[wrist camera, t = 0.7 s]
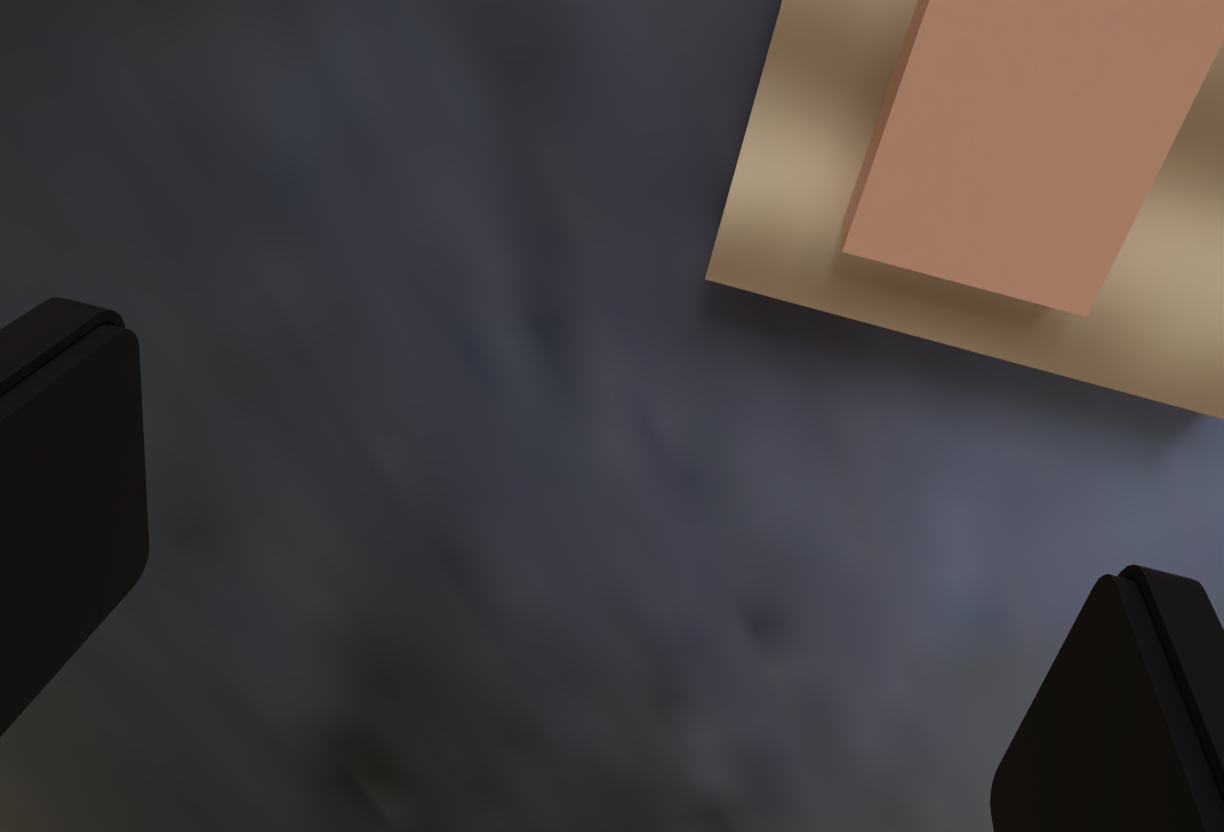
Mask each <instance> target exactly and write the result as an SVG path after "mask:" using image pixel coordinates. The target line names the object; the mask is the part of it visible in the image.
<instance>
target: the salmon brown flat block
mask: <svg viewBox="0 0 1224 832" xmlns="http://www.w3.org/2000/svg"><path fill="white" fill-rule="evenodd" d="M1223 41H1224V0H918V2H917V5H916V8H915V11H914V14H913V17H912V20H911V23H910V26H909V29H908V31H907V34H906V37H905V40H904V43H903V46H902V49H901V52H900V55H899V58H898V61H897V64H896V67H895V70H894V72H893V75H892V78H891V81H890V84H889V87H888V90H887V93H886V96H885V99H884V102H883V105H882V108H881V111H880V113H879V116H878V119H877V122H876V125H875V128H874V131H873V134H872V137H871V140H870V143H869V146H868V149H867V152H866V154H865V157H864V160H863V163H862V166H861V169H860V172H859V175H858V178H857V181H856V184H855V187H854V190H853V193H852V196H851V198H850V201H849V204H848V207H847V210H846V213H845V216H844V219H843V222H842V252H845V253H849V254H853V255H856V256H860V257H864V258H868V259H871V260H875V261H879V262H883V263H886V264H890V265H894V266H898V267H901V268H905V269H909V270H913V271H916V272H920V273H924V274H928V275H931V276H935V277H939V278H943V279H946V280H950V281H954V282H958V283H961V284H965V285H969V286H973V287H976V288H980V289H984V290H988V291H991V292H995V293H999V294H1003V295H1006V296H1010V297H1014V298H1018V299H1021V300H1025V301H1029V302H1033V303H1036V304H1040V305H1044V306H1048V307H1051V308H1055V309H1059V310H1063V311H1066V312H1070V313H1074V314H1078V315H1081V316H1085V317H1087V316H1088V314H1089V312H1090V310H1091V308H1092V306H1093V304H1094V302H1095V300H1096V298H1097V296H1098V294H1099V292H1100V290H1101V288H1102V286H1103V284H1104V282H1105V279H1106V277H1107V275H1108V273H1109V271H1110V269H1111V267H1112V265H1113V263H1114V261H1115V259H1116V257H1117V255H1118V253H1119V251H1120V249H1121V247H1122V245H1123V243H1124V241H1125V239H1126V237H1127V235H1128V233H1129V231H1130V229H1131V227H1132V225H1133V223H1134V221H1135V219H1136V217H1137V215H1138V213H1139V211H1140V209H1141V207H1142V205H1143V203H1144V201H1145V199H1146V197H1147V194H1148V192H1149V190H1150V188H1151V186H1152V184H1153V182H1154V180H1155V178H1156V176H1157V174H1158V172H1159V170H1160V168H1161V166H1162V164H1163V162H1164V160H1165V158H1166V156H1167V154H1168V152H1169V150H1170V148H1171V146H1172V144H1173V142H1174V140H1175V138H1176V136H1177V134H1178V132H1179V130H1180V128H1181V126H1182V124H1183V122H1184V120H1185V118H1186V116H1187V114H1188V111H1189V109H1190V107H1191V105H1192V103H1193V101H1194V99H1195V97H1196V95H1197V93H1198V91H1199V89H1200V87H1201V85H1202V83H1203V81H1204V79H1205V77H1206V75H1207V73H1208V71H1209V69H1210V67H1211V65H1212V63H1213V61H1214V59H1215V57H1216V55H1217V53H1218V51H1219V49H1220V47H1221V45H1222V43H1223Z"/></svg>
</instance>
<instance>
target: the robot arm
mask: <svg viewBox="0 0 1224 832" xmlns="http://www.w3.org/2000/svg"><path fill="white" fill-rule="evenodd" d="M148 554H149V535H148V515H147V495H146V475H145V455H144V435H143V414H142V394H141V374H140V354H139V343H138V339H137V337H136V335H135V333H134V332H132V331H131V330H128V329H125V325H124V322H123V320H122V318H121V316H120V315H119V314H118V313H117V312H115V311H113V310H109V309H105V308H101V307H97V306H93V305H89V304H85V303H81V302H77V301H73V300H69V299H65V298H59V297H54V298H51V299H49V300H46V301H44V302H43V303H41V304H40V305H38V306H37V307H35V308H34V309H32V310H30V311H29V312H27V313H26V314H24V315H23V316H21V317H19V318H18V319H16V320H15V321H13V322H12V323H10V324H8V325H7V326H5V327H4V328H2V329H1V330H0V737H1V735H2V734H3V733H4V732H5V731H6V730H7V729H8V728H9V726H10V725H11V724H12V723H13V722H14V721H15V720H16V719H17V717H18V716H19V715H20V714H21V713H22V712H23V711H24V710H25V708H26V707H27V706H28V705H29V704H30V703H31V702H32V701H33V699H34V698H35V697H36V696H37V695H38V694H39V693H40V691H41V690H42V689H43V688H44V687H45V686H46V685H47V684H48V682H49V681H50V680H51V679H52V678H53V677H54V676H55V675H56V673H57V672H58V671H59V670H60V669H61V668H62V667H63V666H64V664H65V663H66V662H67V661H68V660H69V659H70V658H71V657H72V655H73V654H74V653H75V652H76V651H77V650H78V649H79V647H80V646H81V645H82V644H83V643H84V642H85V641H86V640H87V638H88V637H89V636H90V635H91V634H92V633H93V632H94V631H95V629H96V628H97V627H98V626H99V625H100V624H101V623H102V622H103V620H104V619H105V618H106V617H107V616H108V615H109V614H110V613H111V611H112V610H113V609H114V608H115V607H116V606H117V605H118V603H119V602H120V601H121V600H122V599H123V598H124V597H125V596H126V594H127V593H128V592H129V591H130V590H131V589H132V588H133V587H134V585H135V584H136V583H137V581H138V580H139V579H140V577H141V575H142V573H143V571H144V568H145V565H146V563H147V558H148ZM990 807H991V816H992V822H993V828H994V832H1224V630H1223V628H1222V626H1221V624H1220V621H1219V619H1218V617H1217V615H1216V613H1215V611H1214V609H1213V607H1212V604H1211V602H1210V600H1209V598H1208V596H1207V594H1206V592H1205V590H1204V588H1203V587H1202V585H1201V584H1200V583H1199V582H1198V581H1196V580H1193V579H1190V578H1186V577H1182V576H1178V575H1174V574H1170V573H1166V572H1162V571H1158V570H1154V569H1150V568H1146V567H1142V566H1138V565H1130V566H1127V567H1126V568H1125V569H1123V570H1122V571H1121V572H1120V573H1119V575H1118V576H1114V575H1110V574H1106V575H1103V576H1102V577H1101V578H1099V579H1098V581H1097V582H1096V584H1095V585H1094V587H1093V589H1092V590H1091V592H1090V594H1089V596H1088V598H1087V600H1086V602H1085V604H1084V606H1083V607H1082V609H1081V611H1080V613H1079V615H1078V617H1077V619H1076V621H1075V623H1074V624H1073V626H1072V628H1071V630H1070V632H1069V634H1068V636H1067V638H1066V640H1065V641H1064V643H1063V645H1062V647H1061V649H1060V651H1059V653H1058V655H1057V657H1056V659H1055V660H1054V662H1053V664H1052V666H1051V668H1050V670H1049V672H1048V674H1047V676H1046V677H1045V679H1044V681H1043V683H1042V685H1041V687H1040V689H1039V691H1038V693H1037V694H1036V696H1035V698H1034V700H1033V702H1032V704H1031V706H1030V708H1029V710H1028V712H1027V713H1026V715H1025V717H1024V719H1023V721H1022V723H1021V725H1020V727H1019V729H1018V730H1017V732H1016V734H1015V736H1014V738H1013V740H1012V742H1011V744H1010V746H1009V747H1008V749H1007V751H1006V753H1005V755H1004V757H1003V759H1002V761H1001V763H1000V764H999V766H998V768H997V771H996V773H995V776H994V779H993V783H992V789H991V798H990Z"/></svg>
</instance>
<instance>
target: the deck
mask: <svg viewBox="0 0 1224 832" xmlns="http://www.w3.org/2000/svg"><path fill="white" fill-rule="evenodd" d="M917 2H918V0H782V3H781V7H780V10H779V14H778V17H777V21H776V25H775V28H774V32H773V35H772V39H771V43H770V46H769V50H768V53H767V57H766V61H765V64H764V68H763V71H762V75H761V79H760V82H759V86H758V89H757V93H756V97H755V100H754V104H753V107H752V111H751V115H750V118H749V122H748V125H747V129H746V133H745V136H744V140H743V143H742V147H741V151H740V154H739V158H738V161H737V165H736V169H735V172H734V176H733V179H732V183H731V187H730V190H729V194H728V197H727V201H726V205H725V208H724V212H723V215H722V219H721V223H720V226H719V230H718V234H717V237H716V241H715V245H714V248H713V252H712V255H711V259H710V263H709V266H708V270H707V274H706V277H705V279H706V280H709V281H713V282H717V283H720V284H724V285H728V286H732V287H735V288H739V289H743V290H746V291H750V292H754V293H757V294H761V295H765V296H769V297H772V298H776V299H780V300H783V301H787V302H791V303H795V304H798V305H802V306H806V307H809V308H813V309H817V310H821V311H824V312H828V313H832V314H835V315H839V316H843V317H846V318H850V319H854V320H858V321H861V322H865V323H869V324H872V325H876V326H880V327H884V328H887V329H891V330H895V331H898V332H902V333H906V334H910V335H913V336H917V337H921V338H924V339H928V340H932V341H935V342H939V343H943V344H947V345H950V346H954V347H958V348H961V349H965V350H969V351H973V352H976V353H980V354H984V355H987V356H991V357H995V358H999V359H1002V360H1006V361H1010V362H1013V363H1017V364H1021V365H1024V366H1028V367H1032V368H1036V369H1039V370H1043V371H1047V372H1050V373H1054V374H1058V375H1062V376H1065V377H1069V378H1073V379H1076V380H1080V381H1084V382H1088V383H1091V384H1095V385H1099V386H1102V387H1106V388H1110V389H1113V390H1117V391H1121V392H1125V393H1128V394H1132V395H1136V396H1139V397H1143V398H1147V399H1151V400H1154V401H1158V402H1162V403H1165V404H1169V405H1173V406H1177V407H1180V408H1184V409H1188V410H1191V411H1195V412H1199V413H1202V414H1206V415H1210V416H1214V417H1217V418H1221V419H1224V41H1223V43H1222V45H1221V47H1220V49H1219V51H1218V53H1217V55H1216V57H1215V59H1214V61H1213V63H1212V65H1211V67H1210V69H1209V71H1208V73H1207V75H1206V77H1205V79H1204V81H1203V83H1202V85H1201V87H1200V89H1199V91H1198V93H1197V95H1196V97H1195V99H1194V101H1193V103H1192V105H1191V107H1190V109H1189V111H1188V114H1187V116H1186V118H1185V120H1184V122H1183V124H1182V126H1181V128H1180V130H1179V132H1178V134H1177V136H1176V138H1175V140H1174V142H1173V144H1172V146H1171V148H1170V150H1169V152H1168V154H1167V156H1166V158H1165V160H1164V162H1163V164H1162V166H1161V168H1160V170H1159V172H1158V174H1157V176H1156V178H1155V180H1154V182H1153V184H1152V186H1151V188H1150V190H1149V192H1148V194H1147V197H1146V199H1145V201H1144V203H1143V205H1142V207H1141V209H1140V211H1139V213H1138V215H1137V217H1136V219H1135V221H1134V223H1133V225H1132V227H1131V229H1130V231H1129V233H1128V235H1127V237H1126V239H1125V241H1124V243H1123V245H1122V247H1121V249H1120V251H1119V253H1118V255H1117V257H1116V259H1115V261H1114V263H1113V265H1112V267H1111V269H1110V271H1109V273H1108V275H1107V277H1106V279H1105V282H1104V284H1103V286H1102V288H1101V290H1100V292H1099V294H1098V296H1097V298H1096V300H1095V302H1094V304H1093V306H1092V308H1091V310H1090V312H1089V314H1088V316H1087V317H1085V316H1081V315H1078V314H1074V313H1070V312H1066V311H1063V310H1059V309H1055V308H1051V307H1048V306H1044V305H1040V304H1036V303H1033V302H1029V301H1025V300H1021V299H1018V298H1014V297H1010V296H1006V295H1003V294H999V293H995V292H991V291H988V290H984V289H980V288H976V287H973V286H969V285H965V284H961V283H958V282H954V281H950V280H946V279H943V278H939V277H935V276H931V275H928V274H924V273H920V272H916V271H913V270H909V269H905V268H901V267H898V266H894V265H890V264H886V263H883V262H879V261H875V260H871V259H868V258H864V257H860V256H856V255H853V254H849V253H845V252H842V222H843V219H844V216H845V213H846V210H847V207H848V204H849V201H850V198H851V196H852V193H853V190H854V187H855V184H856V181H857V178H858V175H859V172H860V169H861V166H862V163H863V160H864V157H865V154H866V152H867V149H868V146H869V143H870V140H871V137H872V134H873V131H874V128H875V125H876V122H877V119H878V116H879V113H880V111H881V108H882V105H883V102H884V99H885V96H886V93H887V90H888V87H889V84H890V81H891V78H892V75H893V72H894V70H895V67H896V64H897V61H898V58H899V55H900V52H901V49H902V46H903V43H904V40H905V37H906V34H907V31H908V29H909V26H910V23H911V20H912V17H913V14H914V11H915V8H916V5H917Z"/></svg>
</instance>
